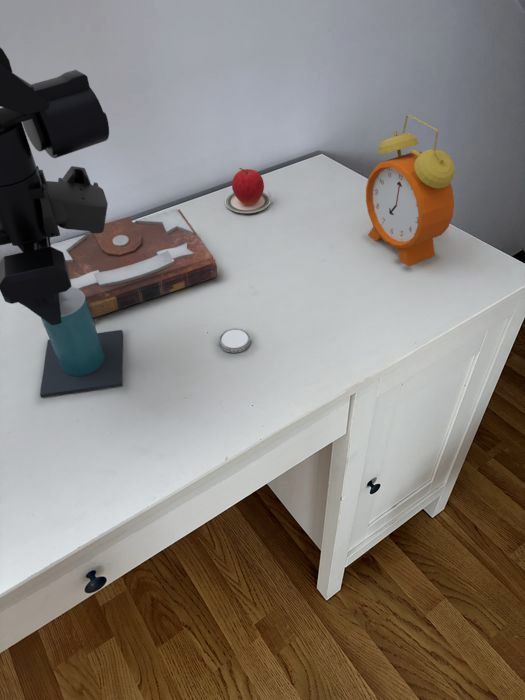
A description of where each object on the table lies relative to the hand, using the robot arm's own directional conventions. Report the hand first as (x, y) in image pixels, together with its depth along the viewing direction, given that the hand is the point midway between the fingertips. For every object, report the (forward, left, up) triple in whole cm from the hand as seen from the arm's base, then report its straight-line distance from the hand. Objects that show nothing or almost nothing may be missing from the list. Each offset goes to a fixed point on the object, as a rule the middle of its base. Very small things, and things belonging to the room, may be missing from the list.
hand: (52, 298), depth 65 cm
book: (+7, +19, -12) cm, 23 cm away
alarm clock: (+50, +18, -12) cm, 54 cm away
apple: (+28, +36, -12) cm, 47 cm away
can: (+1, +1, -11) cm, 11 cm away
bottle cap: (+21, +1, -12) cm, 24 cm away
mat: (+1, +1, -12) cm, 12 cm away
